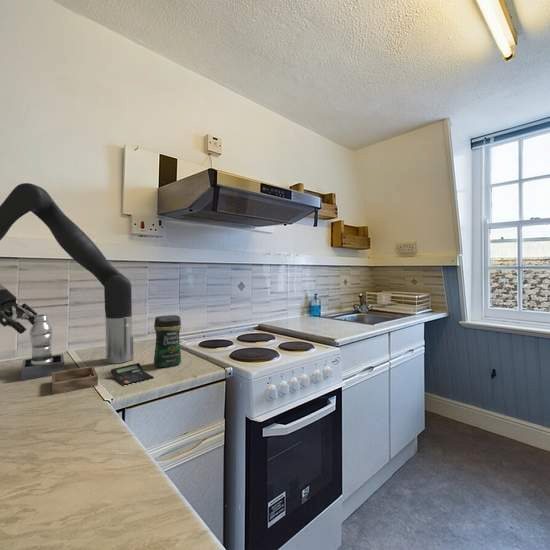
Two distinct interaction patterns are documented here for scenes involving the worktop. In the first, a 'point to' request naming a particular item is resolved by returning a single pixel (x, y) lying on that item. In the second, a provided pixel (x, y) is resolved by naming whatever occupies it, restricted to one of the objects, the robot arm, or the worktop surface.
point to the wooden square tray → (75, 383)
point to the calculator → (130, 374)
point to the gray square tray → (41, 368)
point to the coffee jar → (167, 341)
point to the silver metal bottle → (41, 341)
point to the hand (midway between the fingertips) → (32, 329)
